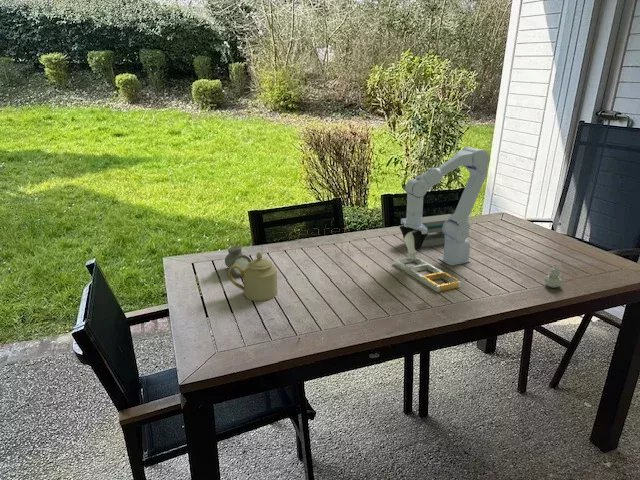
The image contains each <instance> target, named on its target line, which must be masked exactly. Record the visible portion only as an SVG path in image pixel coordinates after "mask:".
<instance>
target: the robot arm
mask: <svg viewBox="0 0 640 480" xmlns="http://www.w3.org/2000/svg"><path fill="white" fill-rule="evenodd" d="M490 161H491V157H490V154H489V153H488V151H487V150H486V149H480V148H475V147H471V146H465V147H464V148H462V149H460V150H458V151H457V153H456V154H454V155H453V156H452V157H451V158H449V159H448V160H447V161H445V162H444V163H443V164H441V165H440V166H438V167H429V168H427V169H426V171H425V172H424V173H422V174H420V175H417V176H416V178H411V179H409V180H408V181H407V182H406V184H405V185H404V191H405V192H406V197H407V198H406V199H407V200H406V217H404V218H400V224H401V225H400V226H399V229H400V231H401V234H402V237H403V239H404V238H405V235H406V234H407V233H409V232H412V231H413V229H415V230H417V232H412V234H413V237H414V245H415V250H417V251H421V249H422V248H423V247H422V244H423V241H424V239H425V238H426V236H427V235H428V234H429V233H428V228H426V227H425V226H424V225H423V224H422V217H423V211H424V210H423V209H424V196H425V195H426V194H427V192H428V190H429V189H431V188H432V187H434V186H436V185H437V184H438V183H440V182H441V181H443V177H444V176H445V175H447V174H449V173H450V172H452V171H455V170H456V169H457V168H459V167H461V166H464V167H466V169H467V170H468V172H469V177H468V179H467V182H466V184H465V187H464V189H463V191H462V193H461V196H460V199H459V201H458V204H457V206H456V209H455V210H454V213H451V214H452V215H450V216H449V217H448V219H447V221H446V222H445V223H444V224H443V226H442V232H443V233H444V234H445V236H444V237H445V244H443V247H444V248H443V256H441V257H440V256H439V257H438V260H440V261H442V262H444V263H445V264H447V265H449V266H456V265H461V264H466V263H470V262H471V260H470V252H471V243H470V241H469V240H468V238H469V236H470V228H471V222H470V220H469V217H470V215H471V213H472V210H473V208H474V206H475V204H476V201H477V199H478V196H479V195H480V194H479V193H480V192H481V189H482V187H483V184H484V182H485V180H486V177H487V175H488V166H489V163H490ZM404 246H406V244H405V242H404Z"/></svg>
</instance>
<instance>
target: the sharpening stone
mask: <svg viewBox="0 0 640 480" xmlns="http://www.w3.org/2000/svg"><path fill="white" fill-rule="evenodd" d="M452 214H453V213H448V214H441V215H440V214H439V215H438V214H436V215H429V216H422V224H423V225H424V226H425V227H426V228H428V235H427V236H426V238H425V239H424V241H423V244H422V247H421V248H426V247H433V246H440V245H441V246H442V245H444V244H445V237H444V236H445V234H444V233H443V232H442V226H443V224H444V223H445V222H446V221H447V219H448V217H449V216H450V215H452ZM413 231H414V232H417V230H415V229H413Z"/></svg>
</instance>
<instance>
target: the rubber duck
mask: <svg viewBox="0 0 640 480" xmlns="http://www.w3.org/2000/svg"><path fill="white" fill-rule="evenodd" d="M544 282H545V285H546V286H548V287H549V288H553V289H554V288H559V287H561V286H562V285H563V282H564V281H563V279H562V274H561V271H560V269H559V268H558V267H557V266H556V265H554V266H552V268H550V270H549V272H548V275H546V276H545V278H544Z"/></svg>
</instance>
